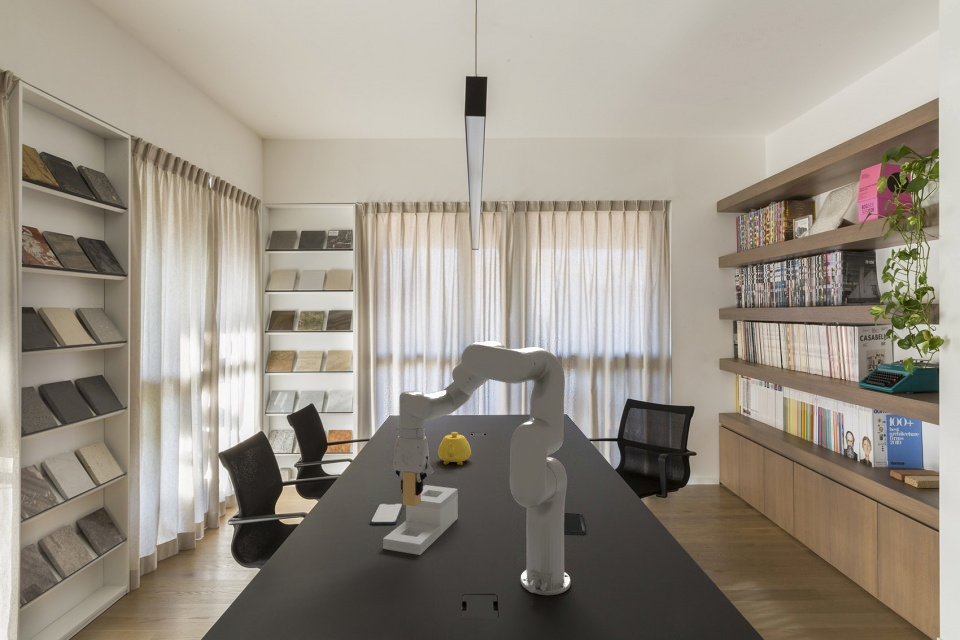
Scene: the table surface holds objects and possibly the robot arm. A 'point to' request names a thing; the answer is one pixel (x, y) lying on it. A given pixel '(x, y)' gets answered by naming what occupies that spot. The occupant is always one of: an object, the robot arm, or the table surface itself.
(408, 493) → the plug
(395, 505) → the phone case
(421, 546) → the white stepped socket block
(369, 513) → the table surface
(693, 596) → the table surface
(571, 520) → the phone
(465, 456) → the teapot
